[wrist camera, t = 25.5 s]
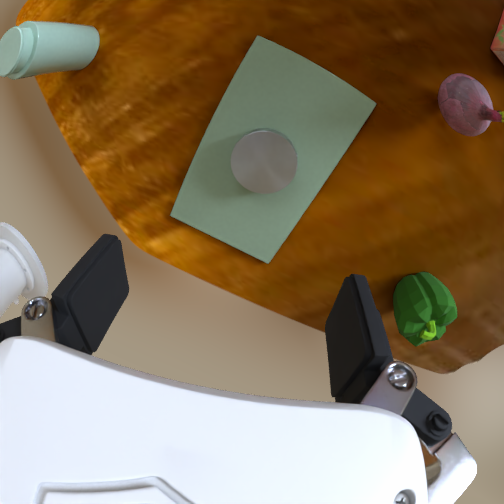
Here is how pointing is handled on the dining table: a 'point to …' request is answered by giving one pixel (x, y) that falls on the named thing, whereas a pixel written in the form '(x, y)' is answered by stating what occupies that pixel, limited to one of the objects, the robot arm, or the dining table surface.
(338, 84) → the mat
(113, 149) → the dining table surface
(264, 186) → the lid
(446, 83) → the vegetable
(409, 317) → the bell pepper
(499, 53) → the cracker box
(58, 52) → the cylinder
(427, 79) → the dining table surface
